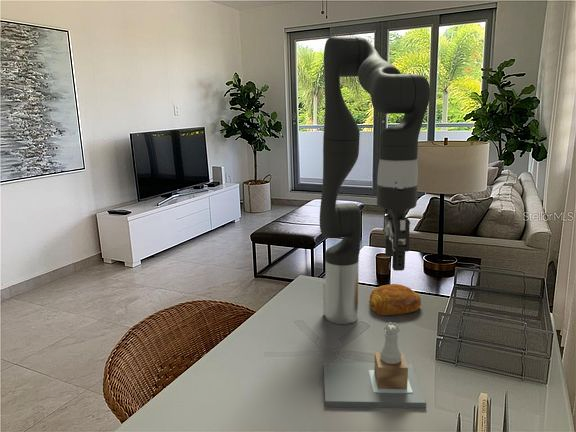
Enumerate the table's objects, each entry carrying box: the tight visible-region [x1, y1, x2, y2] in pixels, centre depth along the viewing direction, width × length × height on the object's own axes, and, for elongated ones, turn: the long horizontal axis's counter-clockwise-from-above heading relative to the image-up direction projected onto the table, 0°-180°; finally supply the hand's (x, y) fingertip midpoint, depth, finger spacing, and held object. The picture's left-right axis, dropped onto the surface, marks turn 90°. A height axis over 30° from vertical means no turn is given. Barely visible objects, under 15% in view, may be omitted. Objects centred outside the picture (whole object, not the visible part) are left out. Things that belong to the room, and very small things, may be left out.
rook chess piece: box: [380, 321, 402, 364], centre depth 94 cm, size 4×4×8 cm
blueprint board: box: [323, 362, 427, 409], centre depth 97 cm, size 20×14×1 cm
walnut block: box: [373, 351, 408, 389], centre depth 96 cm, size 6×6×5 cm
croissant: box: [368, 283, 422, 316], centre depth 135 cm, size 14×16×8 cm
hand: (394, 262), depth 90 cm, fingers open, 8 cm apart
